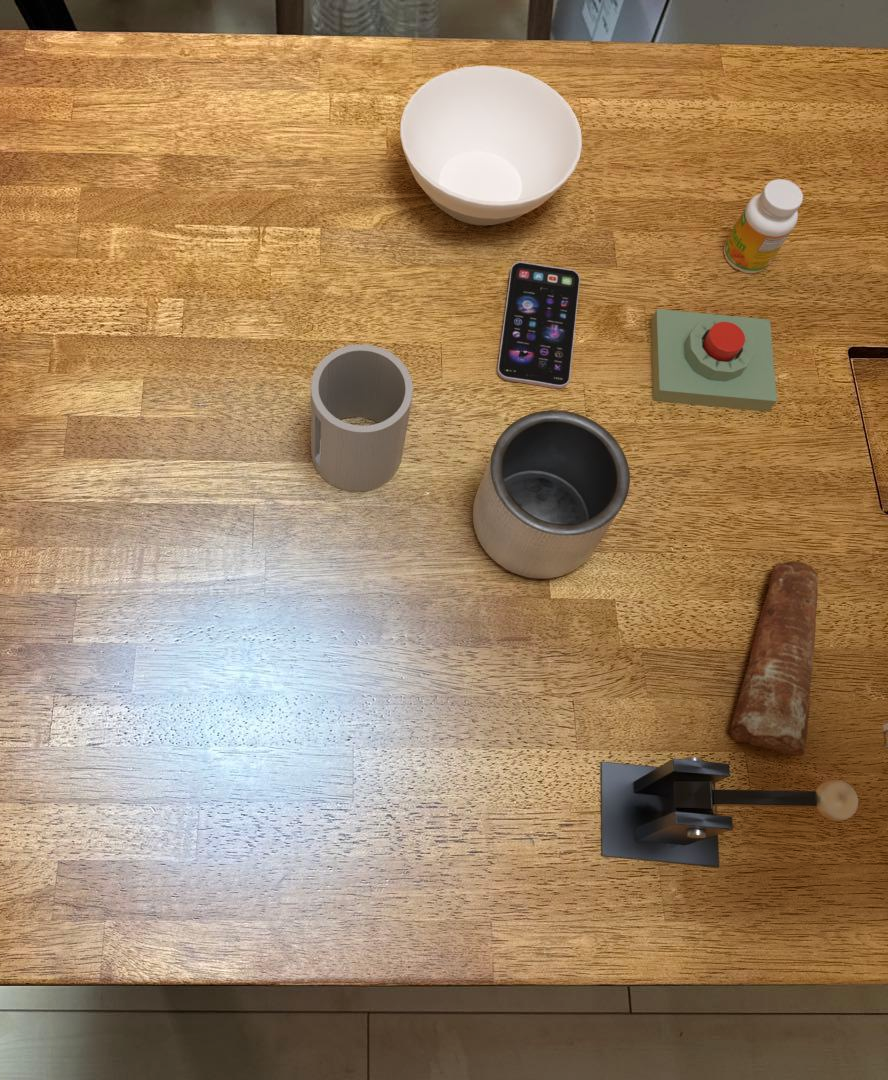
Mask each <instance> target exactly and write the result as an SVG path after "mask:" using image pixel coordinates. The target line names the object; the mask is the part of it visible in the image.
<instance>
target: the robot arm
mask: <svg viewBox="0 0 888 1080" xmlns="http://www.w3.org/2000/svg"><path fill="white" fill-rule="evenodd" d="M882 732H883V741H884V747H886V748H888V721H887V722H885V723H883V724H882Z"/></svg>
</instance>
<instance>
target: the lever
mask: <svg viewBox="0 0 888 1080" xmlns="http://www.w3.org/2000/svg"><path fill="white" fill-rule="evenodd" d="M674 798H675V809H676V810H677V811H680V812H691V813H701V814H715V813H716V811H715V806H716V807H750V808H753V807H754V808H755V807H756V808H795V809H796V808H797V809H799V808H800V809H801V808H803V809H816V810H817V811H818V812H819V814H820V815H822V816H823V817H824V818H826V819H827V820H831V821H836V822H842V821H847V820H849V819H850V818H851V817H853V816H854V815H855V814H856V812H857V810H858V808H859V797H858V793H857V792H856V790H855V789H854V788H853V786H851V785H850V784H849V783H847V782H846V781H844V780H841V779H838V778H837V779H835V778H834V779H832V778H831V779H827V780H824V781H822V782H820V784H818V786H817V787H815V790H778V789H777V790H774V789H773V790H772V789H771V790H770V789H769V790H768V789H767V790H766V789H716V788H715V789H714V786H713V784H712V782H711V781H706V780H674Z"/></svg>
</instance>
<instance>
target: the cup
mask: <svg viewBox="0 0 888 1080" xmlns="http://www.w3.org/2000/svg"><path fill="white" fill-rule="evenodd" d="M310 381H311V382H310V455H311V460H312V463H313V466H314V468H315V470H316V471H317V473H318V474H319V476H321V478H323V480H325V482H327V483H328V484H330V485H331V486H333V487H335V488H338V489H340V490H343V491H346V492H351V493H362V492H369V491H372V490H376V489H377V488H380V487H383V486H384V485H385V484H386V483H388V482H389V481H390V480H392V478H393V477H394V476H395V475H396V474H397V472H398V470H399V468H400V466H401V463H402V460H403V454H404V448H405V442H406V438H407V437H406V436H407V432H408V431H407V430H408V427H409V426H408V424H409V419H410V414H411V409H412V408H411V407H412V402H413V395H414V386H413V385H414V383H413V379H412V376H411V374H410V372H409V369H408V368H407V366H406V365H405V364H404V363H403V361H402V360H401V359H399V357H397V356H396V355H395V354H394V353H393V352H390V351H388V350H387V349H384V348H382V347H379V346H377V345H376V346H375V345H371V344H367V343H366V344H349V345H345V346H342V347H340V348H336V349H334V350H333V351H332V352H330V353H328V354H327V355H326V356H325V357H324V358H323V359H322V360H321V361H320V362H319V363H318V364H317V365H316V368H315V370H314V372H313V374H312V377H311V379H310ZM348 418H364V419H368V420H372V421H373V422H376V423H374V424H369V425H357V424H353V423H352V424H351V423H348V422H345V421H343V420H344V419H348Z"/></svg>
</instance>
